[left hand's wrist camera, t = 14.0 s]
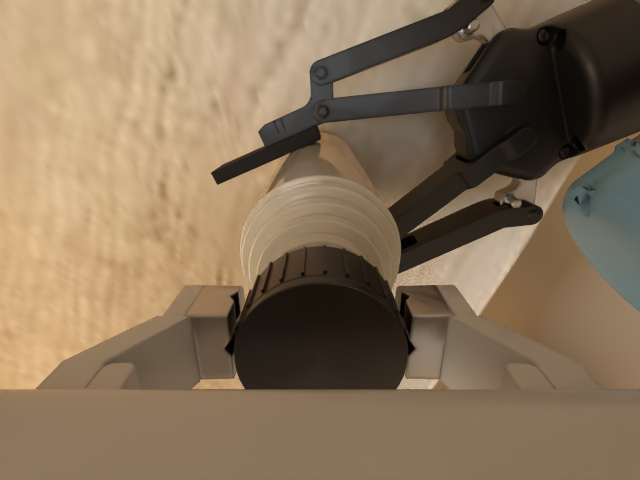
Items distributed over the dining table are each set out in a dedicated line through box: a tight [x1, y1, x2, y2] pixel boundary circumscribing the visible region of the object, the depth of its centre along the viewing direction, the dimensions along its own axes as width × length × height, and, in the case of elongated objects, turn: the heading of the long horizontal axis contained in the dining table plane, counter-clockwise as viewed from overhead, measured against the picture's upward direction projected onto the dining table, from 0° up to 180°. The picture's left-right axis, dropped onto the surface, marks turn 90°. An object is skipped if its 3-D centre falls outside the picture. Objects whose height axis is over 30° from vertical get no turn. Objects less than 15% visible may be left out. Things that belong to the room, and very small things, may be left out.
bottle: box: [239, 132, 401, 290], centre depth 19 cm, size 6×6×22 cm
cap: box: [234, 245, 408, 389], centre depth 9 cm, size 4×4×2 cm
